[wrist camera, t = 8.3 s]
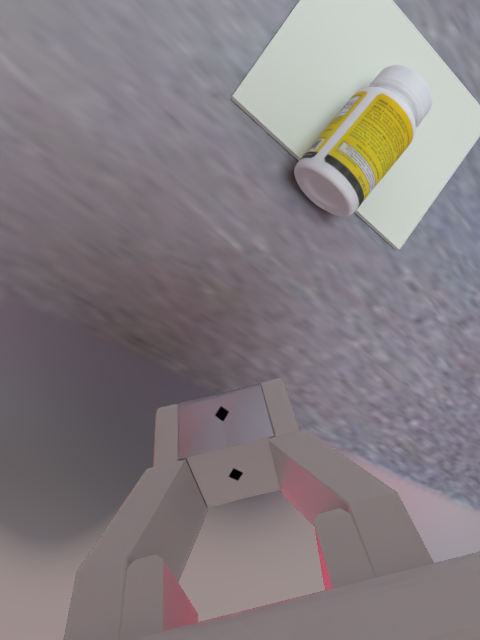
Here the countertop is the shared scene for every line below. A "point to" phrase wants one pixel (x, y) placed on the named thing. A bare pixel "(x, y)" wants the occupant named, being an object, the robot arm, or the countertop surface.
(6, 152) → the countertop surface
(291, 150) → the rubber mat
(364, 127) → the supplement bottle
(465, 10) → the countertop surface
